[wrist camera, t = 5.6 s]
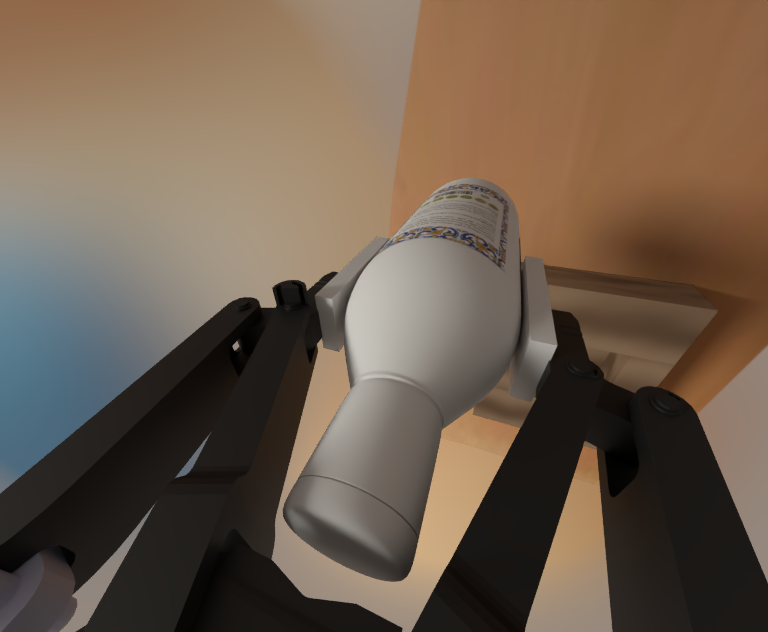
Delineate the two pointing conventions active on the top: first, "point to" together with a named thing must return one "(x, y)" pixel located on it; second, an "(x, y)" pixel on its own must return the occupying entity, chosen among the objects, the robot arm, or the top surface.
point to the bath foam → (412, 374)
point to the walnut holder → (616, 331)
